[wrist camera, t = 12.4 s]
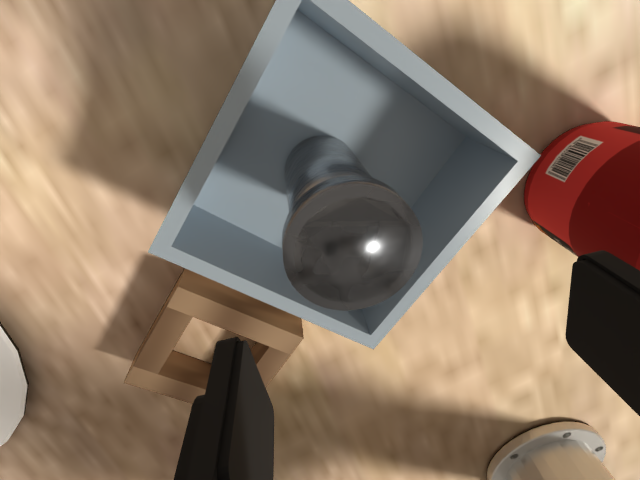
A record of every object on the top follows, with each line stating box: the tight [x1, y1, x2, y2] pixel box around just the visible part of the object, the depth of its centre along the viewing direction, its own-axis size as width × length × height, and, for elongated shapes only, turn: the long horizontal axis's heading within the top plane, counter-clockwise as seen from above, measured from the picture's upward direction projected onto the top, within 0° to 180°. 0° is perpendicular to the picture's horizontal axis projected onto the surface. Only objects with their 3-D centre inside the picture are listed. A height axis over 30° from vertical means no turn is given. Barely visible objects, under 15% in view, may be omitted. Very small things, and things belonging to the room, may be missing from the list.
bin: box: [148, 0, 541, 349], centre depth 21 cm, size 14×14×6 cm
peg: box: [282, 135, 423, 311], centre depth 18 cm, size 5×5×10 cm
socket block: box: [124, 268, 304, 404], centre depth 27 cm, size 9×9×2 cm
